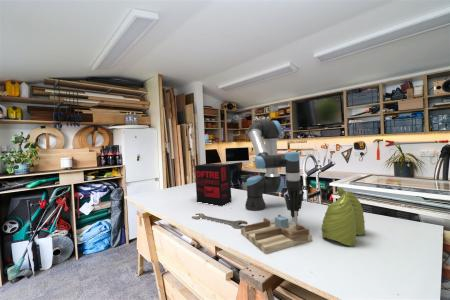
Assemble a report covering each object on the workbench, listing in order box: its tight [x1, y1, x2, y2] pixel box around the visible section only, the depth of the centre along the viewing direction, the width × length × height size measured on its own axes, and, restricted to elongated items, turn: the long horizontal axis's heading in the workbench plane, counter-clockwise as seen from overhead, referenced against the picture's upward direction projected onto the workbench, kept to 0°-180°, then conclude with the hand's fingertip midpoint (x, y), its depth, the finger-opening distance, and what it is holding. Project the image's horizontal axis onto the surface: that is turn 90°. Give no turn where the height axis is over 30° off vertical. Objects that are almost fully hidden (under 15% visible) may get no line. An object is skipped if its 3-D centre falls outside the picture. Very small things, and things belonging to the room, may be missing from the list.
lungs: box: [320, 187, 366, 247], centre depth 109 cm, size 25×16×24 cm, turn 131°
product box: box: [194, 163, 232, 207], centre depth 184 cm, size 26×14×32 cm, turn 54°
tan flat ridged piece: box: [240, 214, 313, 254], centre depth 112 cm, size 24×27×6 cm
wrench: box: [191, 212, 248, 230], centre depth 139 cm, size 42×10×2 cm, turn 55°
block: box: [274, 215, 289, 229], centre depth 117 cm, size 5×5×5 cm
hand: (294, 222), depth 119 cm, fingers closed
